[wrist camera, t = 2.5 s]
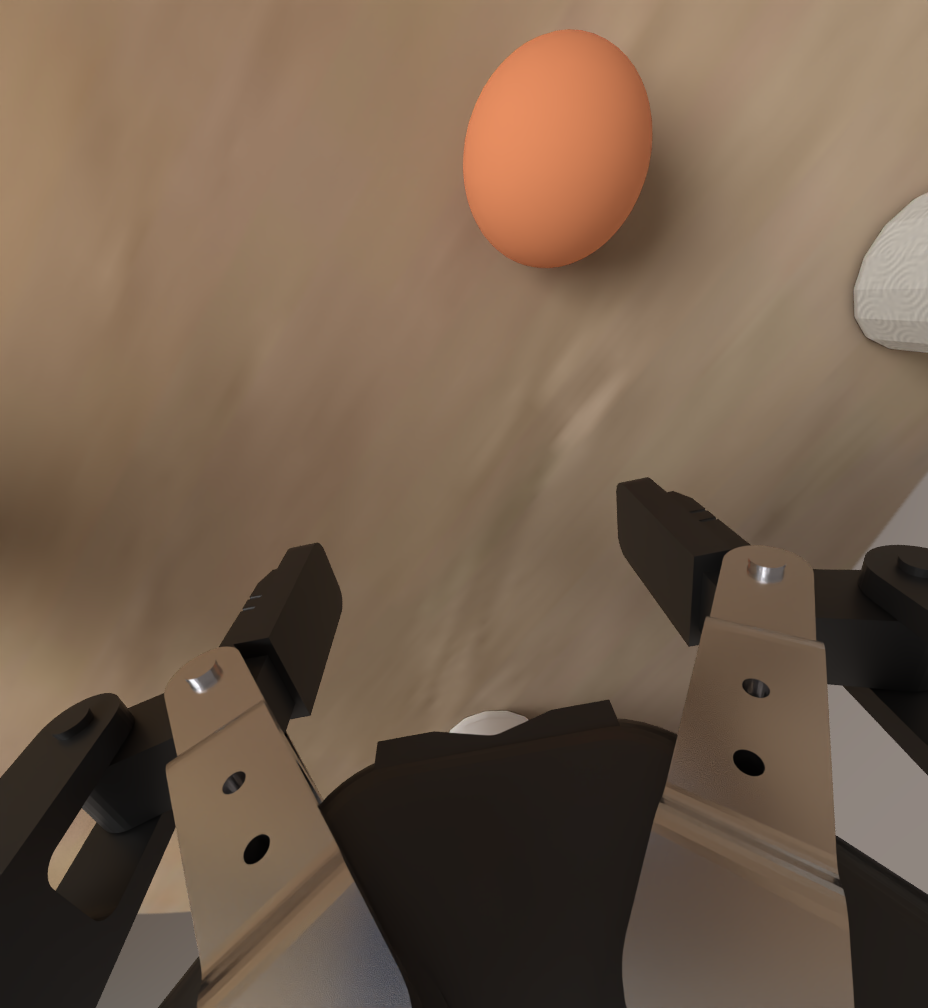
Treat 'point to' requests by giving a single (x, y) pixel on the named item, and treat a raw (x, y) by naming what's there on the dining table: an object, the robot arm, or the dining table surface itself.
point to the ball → (557, 148)
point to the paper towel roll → (896, 282)
